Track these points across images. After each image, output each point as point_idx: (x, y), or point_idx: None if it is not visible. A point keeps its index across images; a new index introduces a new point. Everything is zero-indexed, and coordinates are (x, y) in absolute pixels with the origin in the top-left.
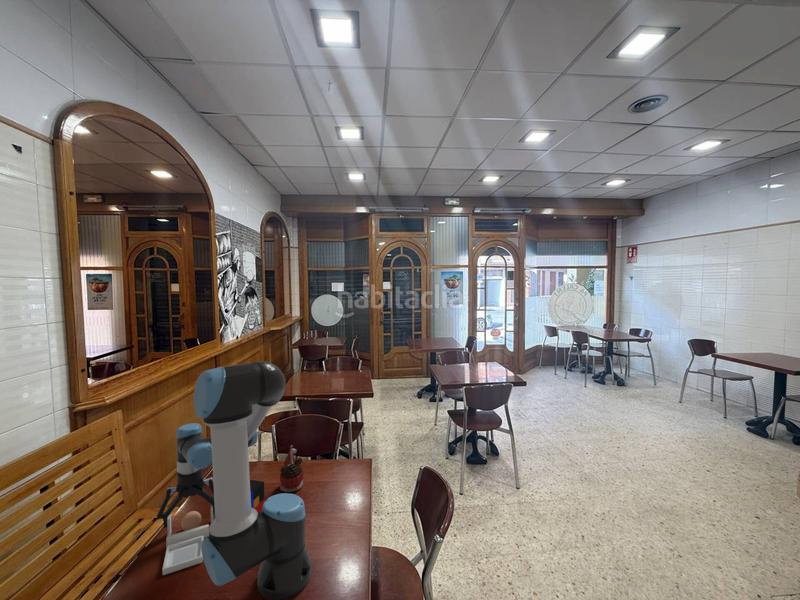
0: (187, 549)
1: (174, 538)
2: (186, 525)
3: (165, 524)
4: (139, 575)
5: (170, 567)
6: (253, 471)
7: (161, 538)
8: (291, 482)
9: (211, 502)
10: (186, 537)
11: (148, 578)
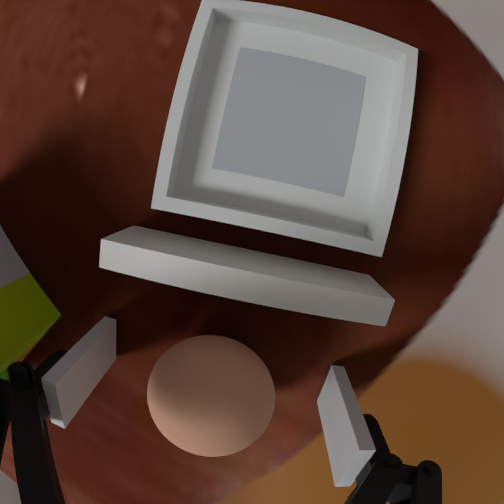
0: (268, 158)
1: (341, 284)
2: (247, 364)
3: (370, 429)
4: (483, 153)
5: (379, 35)
6: None
7: (365, 381)
8: None
9: (28, 410)
10: (261, 262)
11: (455, 96)
